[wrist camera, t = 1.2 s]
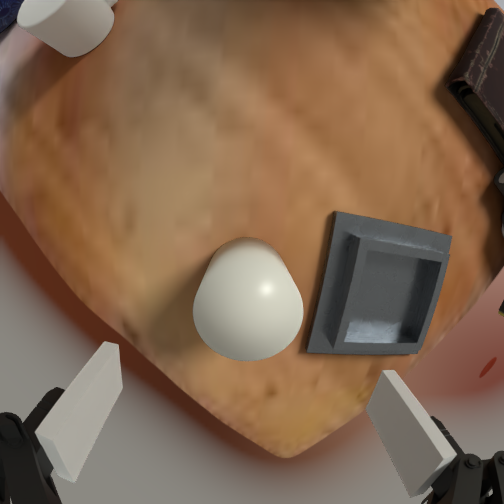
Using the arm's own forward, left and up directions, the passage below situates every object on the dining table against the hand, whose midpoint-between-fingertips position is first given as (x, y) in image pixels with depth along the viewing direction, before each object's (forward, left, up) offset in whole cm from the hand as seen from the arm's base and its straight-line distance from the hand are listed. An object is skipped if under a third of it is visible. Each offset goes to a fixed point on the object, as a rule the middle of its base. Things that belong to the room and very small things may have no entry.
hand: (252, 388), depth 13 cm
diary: (-34, +35, -19) cm, 52 cm away
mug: (-29, -23, -18) cm, 41 cm away
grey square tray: (0, +16, -18) cm, 24 cm away
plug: (0, 0, -18) cm, 18 cm away
